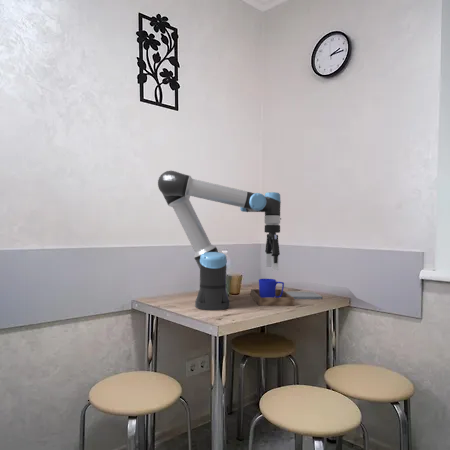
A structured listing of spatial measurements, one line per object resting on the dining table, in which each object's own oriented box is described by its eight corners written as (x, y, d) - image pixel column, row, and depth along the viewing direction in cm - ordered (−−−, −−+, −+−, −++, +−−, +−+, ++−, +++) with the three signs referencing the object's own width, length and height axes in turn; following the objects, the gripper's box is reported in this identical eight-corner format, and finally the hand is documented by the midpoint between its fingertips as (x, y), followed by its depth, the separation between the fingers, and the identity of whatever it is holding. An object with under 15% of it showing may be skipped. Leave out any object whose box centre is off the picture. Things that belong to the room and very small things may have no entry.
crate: (259, 305, 162) (259, 297, 162) (250, 296, 185) (250, 289, 185) (293, 305, 163) (293, 298, 163) (281, 296, 186) (281, 289, 186)
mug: (283, 303, 169) (283, 281, 169) (257, 301, 171) (257, 280, 171) (283, 299, 177) (284, 279, 177) (259, 298, 179) (259, 278, 179)
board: (287, 299, 179) (287, 296, 179) (280, 293, 193) (280, 291, 193) (322, 299, 180) (322, 296, 180) (312, 293, 194) (312, 291, 194)
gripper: (286, 224, 162) (286, 271, 162) (274, 224, 187) (273, 265, 187) (270, 224, 162) (269, 271, 161) (259, 224, 186) (259, 265, 186)
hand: (271, 268), depth 174 cm, fingers open, 13 cm apart
